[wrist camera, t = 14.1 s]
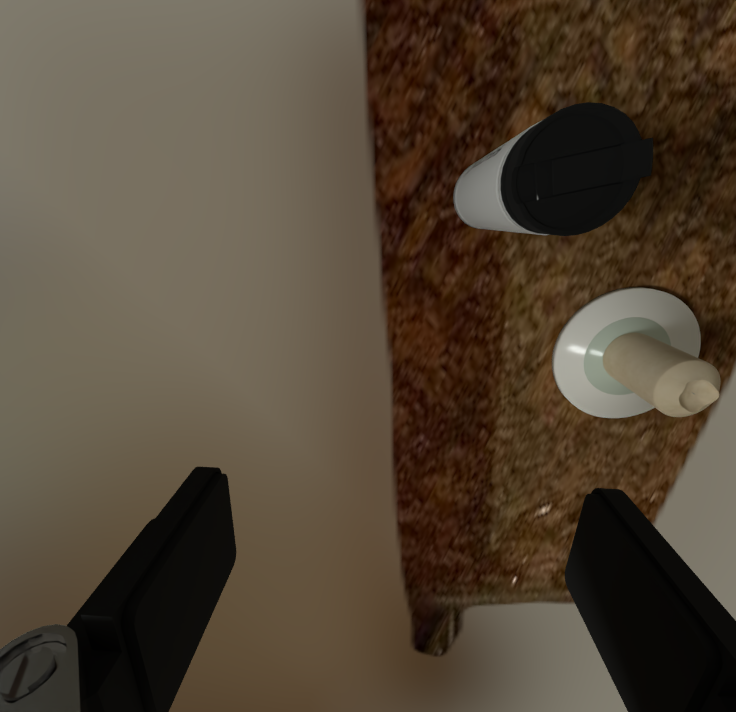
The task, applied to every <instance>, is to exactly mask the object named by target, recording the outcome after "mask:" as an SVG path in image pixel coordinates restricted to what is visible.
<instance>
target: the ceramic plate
mask: <svg viewBox="0 0 736 712" xmlns="http://www.w3.org/2000/svg"><path fill="white" fill-rule="evenodd" d="M627 333H641V334H645V335H648V336H650V337H652V338H654V339H657V340H659V341H661V342H663V343H666V344H668V345H670V346H672V347H675V348H677V349H679V350H681V351H683V352H686V353H688V354H690V355H692V356H695V357H697V358H698V356H699V352H700V345H701V335H700V329H699V325H698V323H697V320H696V318H695V316H694V314H693V313H692V311H691V310H690V309H689V307H688V306H687V305H686V304H685V303H683V302H682V301H681V300H680V299H678V298H676V297H675V296H673V295H671V294H668V293H666V292H663V291H659V290H655V289H651V288H643V287H629V288H622V289H618V290H614V291H610V292H608V293H605V294H603V295H600V296H598V297H597V298H595V299H593V300H591V301H590V302H588V303H587V304H585V305H584V306H583V307H581V308H580V309H579V310H578V311H577V312H576V313H575V314H574V315H573V316H572V317H571V318H570V319H569V320H568V322H567V323H566V324H565V326H564V327H563V329H562V330H561V332H560V334H559V336H558V338H557V340H556V343H555V346H554V350H553V355H552V371H553V376H554V379H555V382H556V384H557V386H558V388H559V390H560V391H561V393H562V394H563V395H564V396H565V397H566V398H567V399H568V400H569V401H570V402H571V403H572V404H573V405H574V406H576V407H577V408H578V409H580V410H582V411H584V412H586V413H588V414H591V415H594V416H598V417H604V418H623V417H630V416H634V415H638V414H641V413H644V412H646V411H649V410H651V409H653V408H655V407H654V406H652V405H651V404H649V403H648V402H646V401H645V400H644V399H642V398H641V397H639V396H638V395H637V394H635V393H634V392H632V391H631V390H629V389H628V388H627V387H625V386H624V385H622V384H621V383H620V382H618V381H617V380H615V379H614V378H613V377H611V376H610V375H609V374H608V373H607V372H606V370H605V369H604V366H603V355H604V352H605V350H606V348H607V347H608V345H609V344H610V343H611V342H612V341H613V340H614V339H616V338H617V337H619V336H621V335H624V334H627Z"/></svg>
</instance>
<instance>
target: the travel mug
mask: <svg viewBox="0 0 736 712" xmlns="http://www.w3.org/2000/svg"><path fill="white" fill-rule="evenodd" d="M652 162H653V138H649V139H644V140H642V139H641V137H640V134H639V131H638V129H637V128H636V126H635V124H634V123H633V122H632V120H631V119H630V118H629V117H628V116H627V115H626V114H625V113H623V112H621V111H620V110H618V109H616V108H615V107H612V106H609V105H605V104H602V103H589V102H588V103H581V104H575V105H572V106H569V107H566V108H563V109H561V110H559V111H557V112H556V113H554V114H552V115H550V116H549V117H547V118H546V119H544V120H542V121H540V122H538V123H536V124H535V125H533V126H531V127H530V128H528V129H527V130H525V131H523V132H522V133H520V134H519V135H517V136H516V137H514V138H513V139H511V140H509V141H508V142H506V143H505V144H503V145H502V146H500V147H499V148H497V149H496V150H494V151H492V152H491V153H489V154H488V155H486V156H485V157H483V158H482V159H480V160H479V161H477V162H476V163H474V164H472V165H471V166H470V167H468V168H467V169H466V170H465V171H464V172H463V173H462V174H461V176H460V177H459V179H458V181H457V183H456V186H455V189H454V195H453V200H454V207H455V210H456V212H457V214H458V216H459V217H460V219H461V220H462V221H463V222H464V223H466V224H467V225H469V226H471V227H474V228H479V229H489V230H499V231H509V232H519V233H529V234H539V235H560V236H570V235H578V234H582V233H586V232H589V231H591V230H593V229H596V228H598V227H600V226H602V225H603V224H605V223H606V222H608V221H609V220H611V219H612V218H613V217H614V216H615V215H616V214H617V213H618V212H620V211H621V210H622V209H623V207H624V206H625V205H626V203H627V202H628V201H629V200H630V198H631V197H632V195H633V193H634V191H635V189H636V188H637V185H638V183H639V180H640V178H641V177H646V176H651V171H652Z"/></svg>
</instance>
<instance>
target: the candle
mask: <svg viewBox="0 0 736 712" xmlns="http://www.w3.org/2000/svg"><path fill="white" fill-rule="evenodd" d="M603 366H604V369H605V370H606V372H607V373H608V374H609V375H610V376H611V377H613V378H614V379H615V380H617V381H618V382H620V383H621V384H622V385H624V386H625V387H627V388H628V389H629V390H631V391H632V392H634V393H635V394H637V395H638V396H639V397H641V398H642V399H644V400H645V401H646V402H648V403H649V404H651V405H652V406H654V407H655V408H656V409H658V410H659V411H661V412H662V413H664V414H666V415H668V416H672V417H685V416H689V415H693V414H695V413H698V412H700V411H702V410H703V409H705V408H706V407H708V406H709V405H710V404H711V403H712V402H714V401H715V400H717V399H718V397H719V388H720V375H719V373H718V371H717V369H716V368H715V367H714V366H713V365H711V364H710V363H708V362H706V361H703V360H701V359H699V358H697V357H695V356H692V355H690V354H688V353H686V352H683V351H681V350H679V349H677V348H675V347H672V346H670V345H668V344H666V343H663V342H661V341H659V340H657V339H654V338H652V337H650V336H648V335H645V334H641V333H627V334H624V335H621V336H619V337H617V338H616V339H614V340H613V341H612V342H611V343H610V344H609V345H608V347H607V348H606V350H605V352H604V355H603Z"/></svg>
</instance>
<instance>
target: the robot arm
mask: <svg viewBox="0 0 736 712" xmlns="http://www.w3.org/2000/svg"><path fill="white" fill-rule="evenodd" d="M235 559H236V545H235V536H234V528H233V520H232V511H231V504H230V495H229V486H228V478H227V476H226V474H222V473H221V470H220V469H219V468H213V467H196V468H195V469H194V470H193V471H192V472H191V473H190V475H189V476H188V477H187V479H186V480H185V481H184V482H183V484H182V485H181V486H180V488H179V489H178V490H177V491H176V493H175V494H174V495H173V497H172V498H171V499H170V500H169V502H168V503H167V504H166V506H165V507H164V508H163V509H162V511H161V512H160V513H159V515H158V516H157V517H156V518H155V519H153V520H151V521H150V522H149V523H148V524H147V525H146V526H145V527H144V529H143V530H142V531H141V532H140V534H139V535H138V536H137V537H136V539H135V540H134V541H133V543H132V544H131V545H130V547H129V548H128V549H127V550H126V551H125V553H124V554H123V555H122V556H121V558H120V559H119V560H118V562H117V563H116V564H115V565H114V567H113V568H112V569H111V570H110V572H109V573H108V574H107V575H106V577H105V578H104V579H103V581H102V582H101V583H100V584H99V586H98V587H97V588H96V589H95V591H94V592H93V593H92V594H91V596H90V597H89V598H88V599H87V601H86V602H85V603H84V605H83V606H82V607H81V608H80V610H79V611H78V612H77V613H76V615H75V616H74V617H73V618H72V620H71V621H70V622H69V624H68V625H67V626H64V625H58V624H55V625H49V626H43V627H40V628H37V629H34V630H32V631H29V632H27V633H25V634H23V635H21V636H20V637H18V638H16V639H14V640H12V641H11V642H10V643H8V644H7V645H5V646H4V647H3V648H2V649H0V712H169V709H170V707H171V705H172V703H173V701H174V698H175V696H176V694H177V692H178V689H179V687H180V685H181V683H182V680H183V678H184V676H185V674H186V671H187V669H188V667H189V665H190V663H191V660H192V658H193V656H194V654H195V651H196V649H197V647H198V645H199V642H200V640H201V638H202V636H203V633H204V631H205V629H206V627H207V624H208V622H209V620H210V618H211V615H212V613H213V611H214V608H215V606H216V604H217V602H218V600H219V597H220V595H221V593H222V591H223V588H224V586H225V584H226V582H227V579H228V577H229V575H230V573H231V570H232V568H233V566H234V563H235ZM565 581H566V585H567V587H568V590H569V592H570V594H571V596H572V598H573V600H574V602H575V604H576V606H577V608H578V610H579V612H580V614H581V616H582V618H583V620H584V622H585V624H586V626H587V628H588V631H589V632H590V635H591V637H592V639H593V641H594V643H595V644H596V647H597V649H598V651H599V653H600V655H601V657H602V659H603V661H604V663H605V665H606V667H607V669H608V672H609V673H610V675H611V677H612V680H613V682H614V684H615V686H616V688H617V690H618V692H619V694H620V696H621V698H622V700H623V702H624V704H625V706H626V708H627V710H628V712H736V621H735V620H734V618H733V617H732V616H731V615H730V614H729V613H728V611H727V610H726V609H725V608H724V607H723V606H722V605H721V603H720V602H719V601H718V600H717V599H716V598H715V597H714V595H713V594H712V593H711V592H710V591H709V590H708V588H707V587H706V586H705V585H704V584H703V583H702V582H701V580H700V579H699V578H698V577H697V576H696V575H695V573H694V572H693V571H692V570H691V569H690V568H689V567H688V565H687V564H686V563H685V562H684V561H683V560H682V559H681V557H680V556H679V555H678V554H677V553H676V552H675V550H674V549H673V548H672V547H671V546H670V545H669V543H668V542H667V541H666V540H665V539H664V538H663V536H661V534H660V533H659V532H658V531H657V530H656V528H655V527H654V526H653V525H652V524H651V523H650V521H649V520H648V519H647V518H646V517H645V516H644V515H643V513H642V512H641V511H640V510H639V509H638V508H637V506H636V505H635V504H634V503H633V502H632V501H631V499H630V498H629V497H628V496H627V495H626V494H625V493H624V492H623V491H622V490H619V489H603V488H596V489H594V490H593V491H592V493H591V494H587V495H586V497H585V500H584V503H583V507H582V511H581V514H580V518H579V522H578V525H577V529H576V533H575V536H574V540H573V544H572V547H571V551H570V555H569V558H568V562H567V566H566V569H565Z"/></svg>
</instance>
